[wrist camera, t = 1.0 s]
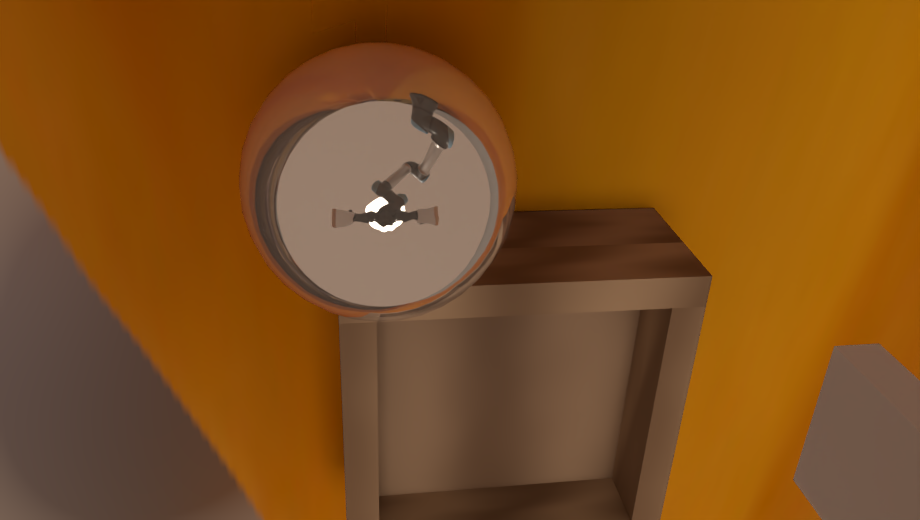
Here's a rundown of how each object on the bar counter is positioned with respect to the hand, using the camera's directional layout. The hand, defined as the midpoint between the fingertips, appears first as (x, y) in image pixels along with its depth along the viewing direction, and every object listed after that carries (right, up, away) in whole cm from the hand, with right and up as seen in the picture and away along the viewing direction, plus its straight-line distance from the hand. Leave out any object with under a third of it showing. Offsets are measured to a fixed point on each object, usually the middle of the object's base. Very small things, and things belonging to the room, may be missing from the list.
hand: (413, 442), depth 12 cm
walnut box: (+2, -1, +22) cm, 22 cm away
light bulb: (-3, +9, +16) cm, 18 cm away
